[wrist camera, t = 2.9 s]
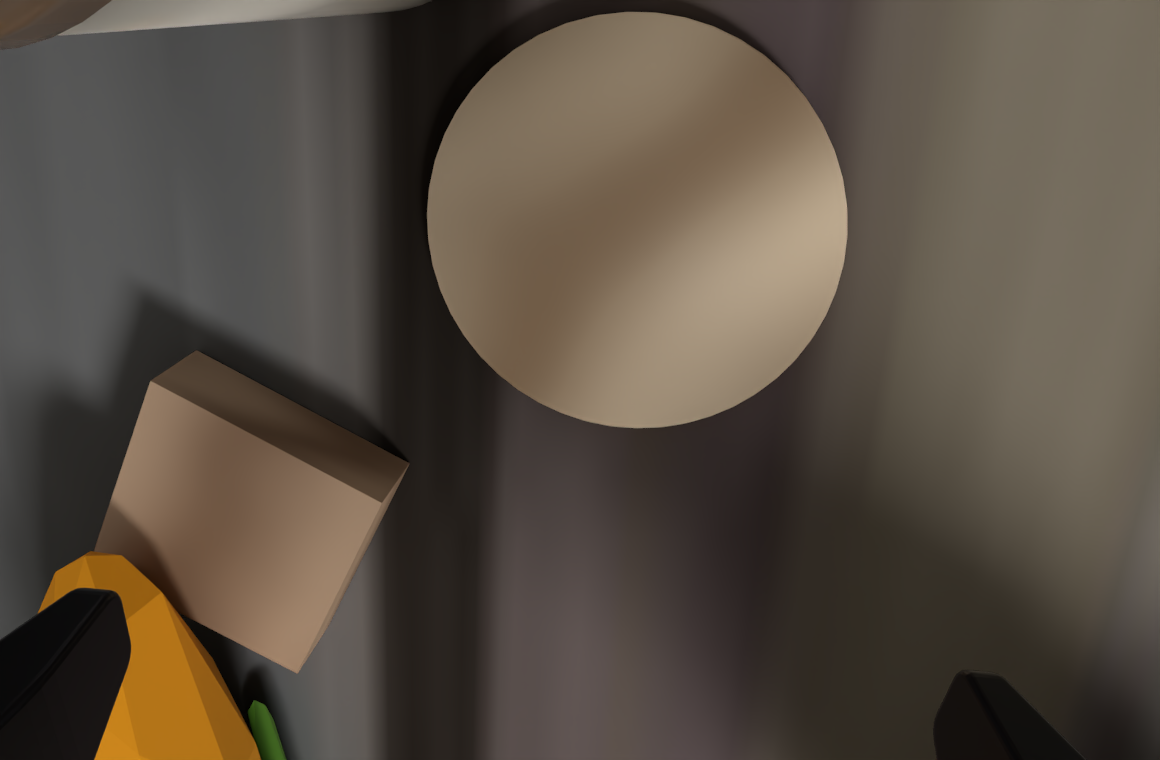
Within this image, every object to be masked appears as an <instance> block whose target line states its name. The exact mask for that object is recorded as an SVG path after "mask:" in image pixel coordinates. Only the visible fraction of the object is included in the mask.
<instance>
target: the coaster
mask: <svg viewBox="0 0 1160 760" xmlns="http://www.w3.org/2000/svg"><path fill="white" fill-rule="evenodd" d="M427 224H428V241H429V247H430V253H431V258H432V264H433V268H434V271H435V274H436V278H437V281H438V284H439V287H440V291H441V293H442V295H443V297H444V299H445V302H446V304H447V306H448V308H449V311H450V313H451V315H452V316H453V318H454V320H455V321H456V323H457V325H458V326H459V328H460V330H461V331H462V333H463V335H464V336H465V337H466V339H467V340H468V341H469V343H470V344H471V345H472V346H473V348H474V349H475V350H476V351H477V353H478V354H479V355H480V356H481V357H482V358H483V359H484V360H485V361H486V362H487V363H488V364H489V365H490V366H491V367H492V368H493V369H494V370H495V371H496V373H497V374H499V375H500V376H501V377H502V378H504V379H505V380H506V381H508V382H509V383H510V384H511V385H513V386H514V387H515V388H516V389H518V390H519V391H521V392H523V393H524V394H526V395H527V396H529V397H531V398H532V399H534V400H535V401H537V402H539V403H541V404H543V405H545V406H547V407H549V408H552V409H554V410H556V411H558V412H560V413H563V414H566V415H569V416H572V417H575V418H578V419H581V420H584V421H588V422H592V423H597V424H602V425H607V426H614V427H626V428H657V427H666V426H673V425H679V424H685V423H689V422H693V421H696V420H700V419H703V418H707V417H710V416H713V415H715V414H717V413H720V412H722V411H725V410H727V409H729V408H732V407H734V406H736V405H737V404H739V403H741V402H743V401H744V400H746V399H748V398H750V397H751V396H753V395H755V394H757V393H758V392H759V391H760V390H762V389H763V388H764V387H766V386H767V385H768V384H770V383H771V382H772V381H774V380H775V379H776V378H777V377H779V376H780V375H781V374H782V373H783V372H784V371H785V370H786V369H787V368H788V367H789V366H790V365H791V364H792V363H793V362H794V361H795V360H796V359H797V357H798V356H799V355H800V354H801V352H802V351H803V350H804V348H805V347H806V346H807V345H808V343H809V342H810V341H811V339H812V338H813V336H814V335H815V333H816V331H817V330H818V328H819V326H820V325H821V323H822V321H823V319H824V318H825V316H826V314H827V312H828V309H829V307H830V305H831V302H832V300H833V297H834V295H835V293H836V290H837V287H838V283H839V279H840V276H841V272H842V268H843V265H844V258H845V251H846V243H847V203H846V196H845V189H844V182H843V177H842V174H841V171H840V167H839V164H838V160H837V157H836V153H835V151H834V148H833V146H832V144H831V142H830V139H829V137H828V135H827V133H826V131H825V128H824V126H823V124H822V122H821V121H820V119H819V118H818V116H817V115H816V113H815V111H814V110H813V108H812V107H811V105H810V103H809V102H808V100H807V99H806V97H805V96H804V95H803V93H802V92H801V91H800V90H799V89H798V88H797V86H796V85H795V84H794V83H793V82H792V81H791V79H790V78H789V77H788V76H787V75H786V74H785V73H784V72H783V71H782V70H781V69H780V68H779V67H777V66H776V65H775V64H774V63H773V62H772V61H771V60H770V59H768V58H767V57H766V56H765V55H764V54H762V53H761V52H759V51H758V50H756V49H755V48H753V47H752V46H750V45H749V44H747V43H746V42H744V41H743V40H741V39H739V38H737V37H735V36H733V35H731V34H729V33H727V32H725V31H723V30H721V29H719V28H716V27H714V26H712V25H709V24H705V23H702V22H699V21H696V20H693V19H689V18H686V17H681V16H675V15H669V14H663V13H657V12H620V13H612V14H603V15H596V16H592V17H588V18H584V19H580V20H576V21H573V22H569V23H565V24H563V25H561V26H558V27H556V28H554V29H551V30H549V31H547V32H544V33H542V34H539V35H538V36H536V37H534V38H533V39H531V40H529V41H528V42H526V43H524V44H523V45H521V46H519V47H518V48H516V49H514V50H513V51H512V52H511V53H509V54H508V55H507V56H506V57H504V58H503V59H502V60H501V61H499V62H498V63H497V64H496V65H494V66H493V67H492V68H491V69H490V70H489V71H488V72H487V73H486V74H485V75H484V77H483V78H482V79H481V80H480V81H479V82H478V83H477V84H476V85H475V86H474V87H473V88H472V90H471V91H470V93H469V94H468V95H467V97H466V98H465V100H464V101H463V103H462V104H461V105H460V107H459V108H458V110H457V111H456V113H455V115H454V117H453V119H452V121H451V123H450V125H449V127H448V128H447V130H446V132H445V134H444V137H443V139H442V142H441V145H440V148H439V151H438V153H437V156H436V159H435V162H434V167H433V172H432V176H431V181H430V186H429V195H428V208H427Z"/></svg>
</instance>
